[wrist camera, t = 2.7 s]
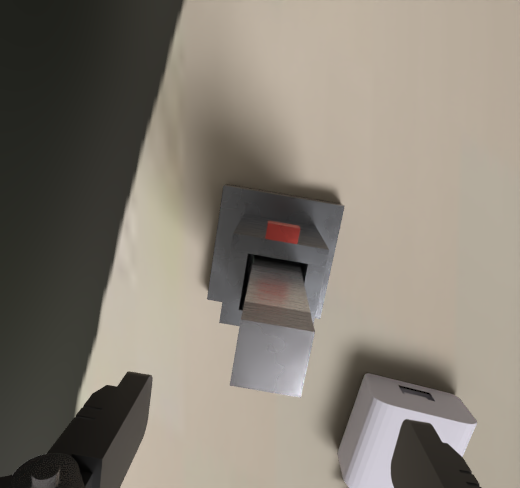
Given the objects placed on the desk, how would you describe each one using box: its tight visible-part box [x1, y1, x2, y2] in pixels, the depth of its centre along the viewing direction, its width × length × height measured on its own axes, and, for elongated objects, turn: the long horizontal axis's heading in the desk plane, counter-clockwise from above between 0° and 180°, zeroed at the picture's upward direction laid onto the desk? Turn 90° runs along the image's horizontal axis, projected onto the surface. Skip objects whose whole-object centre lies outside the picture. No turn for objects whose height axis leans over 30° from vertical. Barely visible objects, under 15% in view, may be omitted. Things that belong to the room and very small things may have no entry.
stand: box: [207, 184, 344, 326], centre depth 30 cm, size 10×10×10 cm
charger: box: [338, 373, 477, 488], centre depth 36 cm, size 5×9×15 cm
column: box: [230, 255, 315, 398], centre depth 24 cm, size 3×3×17 cm
